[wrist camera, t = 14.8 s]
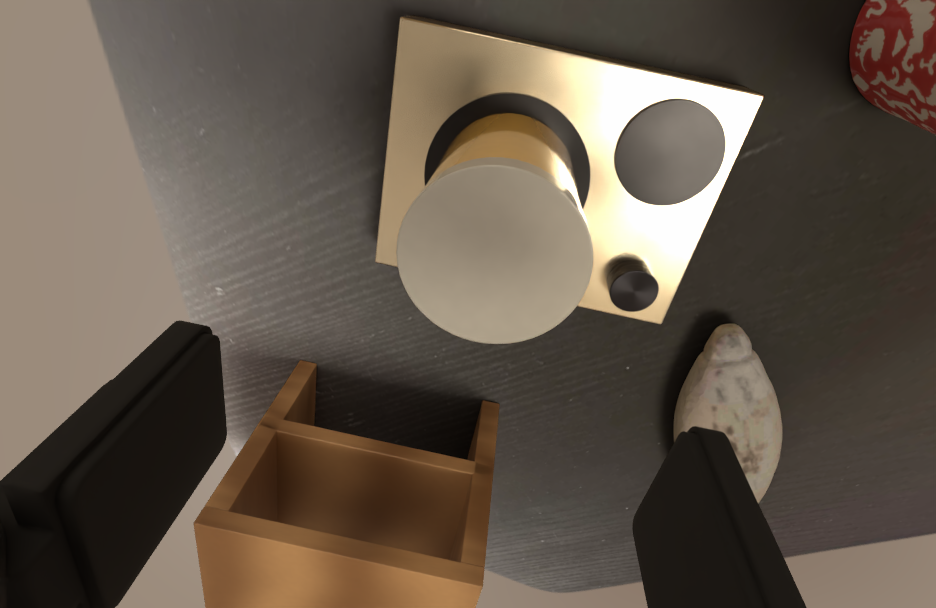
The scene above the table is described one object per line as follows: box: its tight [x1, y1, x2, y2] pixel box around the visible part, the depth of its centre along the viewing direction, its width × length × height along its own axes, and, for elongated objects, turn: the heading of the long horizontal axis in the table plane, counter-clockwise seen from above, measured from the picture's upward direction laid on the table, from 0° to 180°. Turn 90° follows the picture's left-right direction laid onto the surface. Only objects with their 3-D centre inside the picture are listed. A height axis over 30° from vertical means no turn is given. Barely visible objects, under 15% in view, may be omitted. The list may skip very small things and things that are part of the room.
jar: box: [396, 113, 593, 344], centre depth 21 cm, size 7×7×9 cm
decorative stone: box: [674, 324, 782, 503], centre depth 33 cm, size 6×16×3 cm, turn 14°
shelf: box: [194, 360, 499, 608], centre depth 33 cm, size 14×10×13 cm
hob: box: [375, 15, 764, 324], centre depth 26 cm, size 16×12×4 cm
